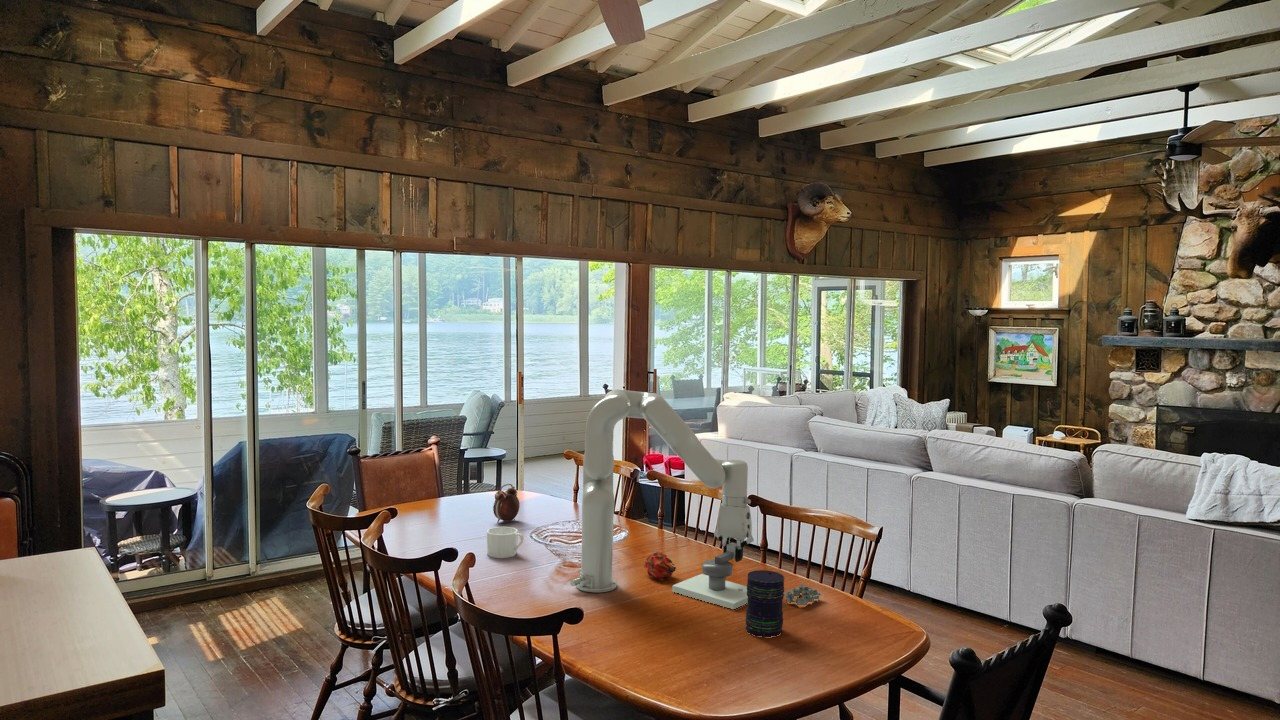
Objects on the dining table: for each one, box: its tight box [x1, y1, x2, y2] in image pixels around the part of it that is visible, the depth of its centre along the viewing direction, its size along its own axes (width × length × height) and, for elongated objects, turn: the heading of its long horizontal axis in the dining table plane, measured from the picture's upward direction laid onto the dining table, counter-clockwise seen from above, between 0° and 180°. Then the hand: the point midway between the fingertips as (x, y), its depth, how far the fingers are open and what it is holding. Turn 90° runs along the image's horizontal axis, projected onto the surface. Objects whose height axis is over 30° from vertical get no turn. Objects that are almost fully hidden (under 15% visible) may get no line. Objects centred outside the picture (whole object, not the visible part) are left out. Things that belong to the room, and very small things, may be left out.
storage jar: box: [745, 569, 785, 637], centre depth 215 cm, size 10×10×15 cm
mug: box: [486, 526, 525, 559], centre depth 276 cm, size 13×10×8 cm
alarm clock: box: [492, 483, 520, 524], centre depth 318 cm, size 11×5×15 cm, turn 144°
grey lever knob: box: [701, 542, 737, 577], centre depth 244 cm, size 15×9×6 cm, turn 143°
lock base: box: [671, 573, 748, 610], centre depth 242 cm, size 15×22×6 cm
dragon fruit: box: [643, 551, 677, 581], centre depth 256 cm, size 8×8×12 cm
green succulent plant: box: [784, 583, 822, 605], centre depth 238 cm, size 11×8×4 cm
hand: (732, 559), depth 249 cm, fingers closed on grey lever knob, 3 cm apart
